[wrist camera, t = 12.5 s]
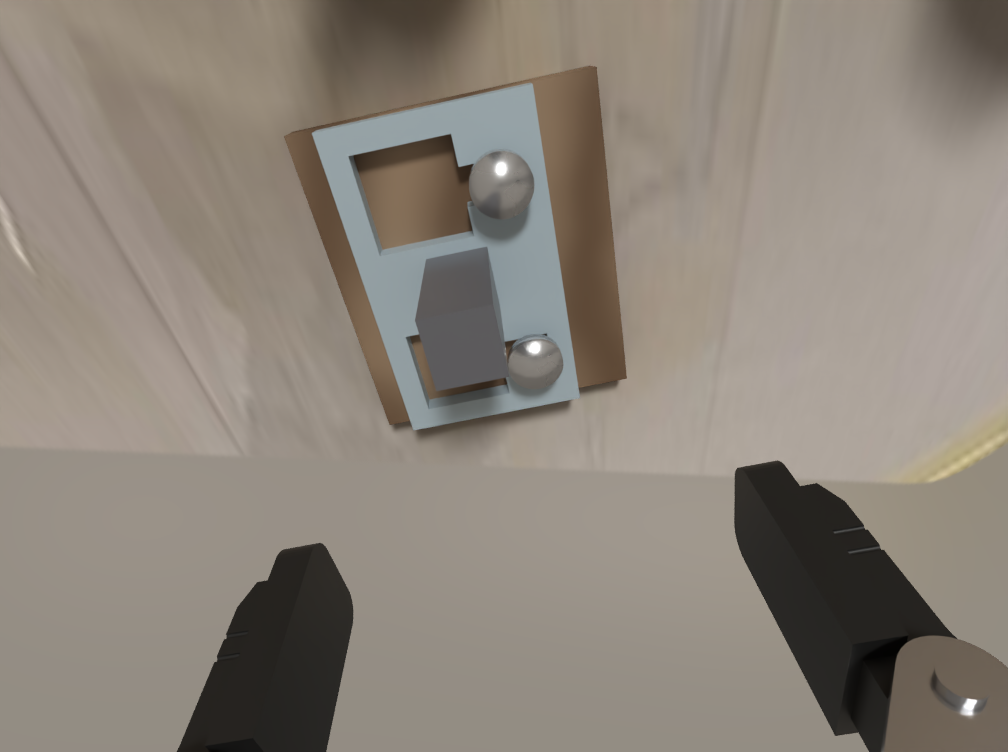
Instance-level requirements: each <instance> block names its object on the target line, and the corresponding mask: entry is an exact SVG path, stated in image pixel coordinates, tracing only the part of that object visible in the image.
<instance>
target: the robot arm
mask: <svg viewBox="0 0 1008 752" xmlns="http://www.w3.org/2000/svg"><path fill="white" fill-rule="evenodd" d="M734 520H735V521H734V523H735V533H736V538H737V542H738V545H739V549H740V551H741V554H742V556H743V558H744V560H745V562H746V564H747V566H748V568H749V570H750V572H751V574H752V576H753V578H754V580H755V581H756V583H757V586H758V587H759V589H760V591H761V593H762V595H763V597H764V599H765V601H766V603H767V605H768V607H769V609H770V611H771V612H772V614H773V616H774V618H775V620H776V622H777V624H778V626H779V628H780V630H781V632H782V634H783V636H784V638H785V640H786V641H787V643H788V645H789V647H790V649H791V651H792V653H793V655H794V657H795V659H796V661H797V663H798V665H799V667H800V668H801V670H802V672H803V674H804V676H805V678H806V680H807V682H808V684H809V686H810V688H811V690H812V692H813V693H814V696H815V697H816V699H817V701H818V703H819V705H820V707H821V709H822V711H823V713H824V715H825V717H826V719H827V721H828V723H829V724H830V726H831V728H832V730H833V732H834V734H835V736H838V735H844V734H851V733H858V732H859V734H860V736H861V738H862V739H863V741H864V743H865V745H866V747H867V748H868V750H869V752H1008V668H1007V667H1006V666H1005V665H1004V664H1003V663H1002V662H1000V661H999V660H998V659H997V658H995V657H994V656H992V655H991V654H989V653H987V652H986V651H984V650H982V649H981V648H979V647H977V646H975V645H972V644H970V643H967V642H965V641H962V640H958V639H957V638H956V637H955V636H954V635H952V633H951V632H950V631H949V630H948V629H947V628H946V627H945V626H944V625H943V623H942V622H941V621H940V619H939V618H938V617H937V616H936V615H935V613H934V612H933V611H932V610H931V608H930V607H929V606H928V605H927V603H926V602H925V601H924V600H923V598H922V597H921V596H920V595H919V593H918V592H917V591H916V590H915V588H914V587H913V586H912V585H911V583H910V582H909V581H908V580H907V579H906V577H905V576H904V575H903V573H902V572H901V571H900V570H899V568H898V567H897V566H896V565H895V563H894V562H893V561H892V560H891V558H890V557H889V556H888V555H887V554H886V552H885V551H884V550H881V549H880V545H879V543H878V542H877V541H876V540H875V538H874V537H873V536H872V535H871V533H870V532H869V531H868V530H865V528H864V525H863V523H862V522H861V521H860V520H859V518H858V517H857V516H856V515H855V513H854V512H853V511H852V510H851V508H850V507H849V506H848V505H847V503H846V502H845V501H843V500H842V499H840V498H839V497H837V496H836V495H834V494H833V493H831V492H830V491H828V490H827V489H825V488H823V487H822V486H820V485H819V484H817V483H816V484H810V485H805V486H799V484H798V483H797V481H796V480H795V479H794V477H793V476H792V475H791V473H790V472H789V470H788V469H787V468H786V466H785V465H784V464H783V463H782V462H780V461H773V462H767V463H762V464H756V465H751V466H745V467H740V468H737V469H736V472H735V518H734ZM352 624H353V604H352V599H351V595H350V592H349V590H348V588H347V587H346V584H345V582H344V581H343V579H342V577H341V575H340V573H339V571H338V569H337V567H336V565H335V563H334V561H333V559H332V558H331V556H330V554H329V552H328V550H327V548H326V547H325V546H324V545H323V544H321V543H318V544H312V545H306V546H301V547H295V548H290V549H284V550H282V551H281V552H280V553H279V554H278V556H277V558H276V560H275V563H274V565H273V568H272V570H271V574H270V576H269V578H268V580H267V581H262V582H257V583H256V585H255V586H254V587H253V588H252V590H251V591H250V592H249V594H248V595H247V596H246V597H245V599H244V600H243V601H242V602H241V603H240V605H239V606H238V607H237V609H236V612H235V614H234V617H233V619H232V622H231V624H230V626H229V629H228V631H227V633H226V635H227V639H225V640H224V641H223V643H222V646H221V648H220V650H219V653H218V655H217V658H218V660H217V662H215V663H214V665H213V667H212V670H211V672H210V674H209V677H208V679H207V681H206V684H205V686H204V689H203V691H202V693H201V696H200V698H199V701H198V703H197V706H196V708H195V710H194V713H193V715H192V718H191V720H190V723H189V725H188V727H187V729H186V732H185V735H184V737H183V739H182V742H181V744H180V746H179V748H178V750H177V752H326V750H327V745H328V740H329V735H330V730H331V725H332V721H333V716H334V711H335V706H336V702H337V696H338V692H339V687H340V682H341V678H342V672H343V668H344V663H345V658H346V653H347V649H348V643H349V639H350V634H351V629H352Z"/></svg>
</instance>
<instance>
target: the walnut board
mask: <svg viewBox="0 0 1008 752" xmlns="http://www.w3.org/2000/svg"><path fill="white" fill-rule="evenodd" d="M526 83H532V84H533V89H534V95H535V102H536V109H537V115H538V122H539V129H540V135H541V142H542V149H543V155H544V162H545V169H546V175H547V182H548V189H549V195H550V202H551V209H552V215H553V222H554V228H555V235H556V242H557V248H558V255H559V262H560V268H561V275H562V282H563V288H564V295H565V302H566V308H567V315H568V322H569V328H570V335H571V342H572V348H573V355H574V362H575V368H576V375H577V382H578V388H581V387H586V386H591V385H596V384H601V383H606V382H611V381H617V380H622V379H627V376H626V366H625V355H624V345H623V335H622V325H621V314H620V304H619V294H618V283H617V273H616V263H615V252H614V242H613V232H612V222H611V211H610V201H609V191H608V180H607V170H606V160H605V149H604V139H603V129H602V119H601V108H600V98H599V88H598V77H597V67H593V66H587V67H583V68H578V69H574V70H569V71H565V72H560V73H556V74H551V75H547V76H542V77H538V78H533V79H529V80H524V81H520V82H515V83H511V84H506V85H502V86H497V87H493V88H488V89H484V90H479V91H475V92H470V93H466V94H461V95H457V96H452V97H448V98H443V99H439V100H434V101H430V102H425V103H421V104H416V105H412V106H407V107H403V108H398V109H394V110H389V111H385V112H380V113H376V114H371V115H367V116H362V117H358V118H353V119H349V120H344V121H340V122H335V123H331V124H326V125H322V126H317V127H313V128H308V129H304V130H299V131H295V132H292V133H290V134H288V135H286V136H284V138H285V140H286V143H287V146H288V149H289V151H290V154H291V157H292V160H293V162H294V165H295V168H296V170H297V173H298V176H299V179H300V181H301V184H302V187H303V190H304V192H305V195H306V198H307V200H308V203H309V206H310V209H311V211H312V214H313V217H314V220H315V222H316V225H317V228H318V230H319V233H320V236H321V239H322V241H323V244H324V247H325V250H326V252H327V255H328V258H329V260H330V263H331V266H332V269H333V271H334V274H335V277H336V280H337V282H338V285H339V288H340V290H341V293H342V296H343V299H344V301H345V304H346V307H347V310H348V312H349V315H350V318H351V320H352V323H353V326H354V329H355V331H356V334H357V337H358V340H359V342H360V345H361V348H362V350H363V353H364V356H365V359H366V361H367V364H368V367H369V369H370V372H371V375H372V378H373V380H374V383H375V386H376V389H377V391H378V394H379V397H380V399H381V402H382V405H383V408H384V410H385V413H386V416H387V419H388V421H389V424H390V425H392V424H397V423H402V422H407V421H410V419H409V416H408V413H407V410H406V407H405V404H404V401H403V398H402V395H401V392H400V389H399V387H398V384H397V381H396V378H395V375H394V372H393V369H392V366H391V363H390V360H389V357H388V354H387V352H386V349H385V346H384V343H383V340H382V337H381V334H380V331H379V328H378V325H377V322H376V319H375V317H374V314H373V311H372V308H371V305H370V302H369V299H368V296H367V293H366V290H365V287H364V284H363V282H362V279H361V276H360V273H359V270H358V267H357V264H356V261H355V258H354V255H353V252H352V249H351V246H350V244H349V241H348V238H347V235H346V232H345V229H344V226H343V223H342V220H341V217H340V214H339V211H338V209H337V206H336V203H335V200H334V197H333V194H332V191H331V188H330V185H329V182H328V179H327V176H326V174H325V171H324V168H323V165H322V162H321V159H320V156H319V153H318V150H317V147H316V144H315V141H314V139H313V136H312V133H313V132H314V131H316V130H319V129H324V128H328V127H333V126H337V125H342V124H346V123H351V122H355V121H360V120H364V119H369V118H373V117H378V116H382V115H387V114H391V113H396V112H400V111H405V110H409V109H414V108H418V107H423V106H427V105H432V104H436V103H441V102H445V101H450V100H454V99H459V98H463V97H468V96H472V95H477V94H481V93H486V92H490V91H495V90H499V89H504V88H508V87H513V86H517V85H522V84H526ZM353 157H354V160H355V163H356V167H357V170H358V173H359V176H360V179H361V183H362V186H363V189H364V192H365V195H366V198H367V202H368V205H369V208H370V211H371V214H372V218H373V221H374V224H375V227H376V230H377V234H378V237H379V240H380V243H381V246H382V249H383V250H384V249H388V248H393V247H398V246H403V245H407V244H412V243H417V242H421V241H426V240H431V239H436V238H440V237H445V236H450V235H455V234H459V233H464V232H469V231H473V229H472V225H471V220H470V216H469V211H468V202H469V201H473V203H474V205H475V206H476V207H477V209H478V210H479V211H480V212H482V213H483V214H484V215H486V216H488V217H490V218H494V219H509V218H512V217H515V216H517V215H518V214H520V213H521V212H523V211H524V210H525V209H526V207H527V206H528V205H529V203H530V201H531V199H532V197H533V193H534V177H533V174H532V171H531V169H530V167H529V165H528V164H527V162H526V161H525V160H524V159H523V157H521V156H520V155H519V154H517V153H516V152H514V151H511V150H508V149H494V150H491V151H488V152H486V153H485V154H483V155H482V156H480V157H479V158H478V159H477V160H476V162H475V163H474V164H470V165H466V166H461V167H458V162H457V158H456V154H455V149H454V145H453V140H452V136H451V134H448V135H443V136H439V137H434V138H429V139H425V140H420V141H416V142H411V143H407V144H402V145H398V146H393V147H388V148H384V149H379V150H375V151H370V152H366V153H361V154H357V155H353ZM410 339H411V342H412V345H413V348H414V351H415V355H416V358H417V361H418V364H419V367H420V371H421V374H422V377H423V380H424V383H425V386H426V390H427V393H428V396H429V399H435V398H440V397H445V396H450V395H455V394H461V393H466V392H471V391H476V390H481V389H486V388H491V387H496V386H501V385H506V384H507V380H506V378H501V379H496V380H491V381H486V382H481V383H476V384H470V385H465V386H460V387H455V388H450V389H445V390H440V391H436V388H435V385H434V382H433V378H432V375H431V372H430V369H429V365H428V362H427V359H426V355H425V352H424V349H423V345H422V342H421V339H420V336H419V334H418V335H413V336H410ZM505 348H506V355H507V362H508V368H509V373H510V376H511V377H512V379H513V380H514V381H515V382H516V383H517V384H518V385H520V386H522V387H524V388H527V389H541V388H545V387H547V386H549V385H551V384H553V383H554V382H555V381H556V380H557V379H558V378H559V376H560V375H561V373H562V370H563V358H562V354H561V351H560V348H559V346H558V345H557V343H556V342H555V341H554V340H553V339H551V338H550V337H548V336H546V334H531V335H526V336H524V337H522V338H520V339H516V340H511V341H506V342H505Z"/></svg>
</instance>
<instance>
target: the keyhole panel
mask: <svg viewBox="0 0 1008 752" xmlns="http://www.w3.org/2000/svg"><path fill="white" fill-rule="evenodd" d="M448 134H451V136H452V140H453V145H454V149H455V154H456V158H457V162H458V167H461V166H466V165H470V164H474V163H475V162H476V160H477V159H478V158H479V157H480V156H482V155H483V154H485V153H486V152H488V151H491V150H494V149H508V150H511V151H514V152H516V153H517V154H519V155H520V156H521V157H523V159H524V160H525V161H526V162H527V164H528V165H529V167H530V169H531V171H532V174H533V177H534V193H533V197H532V199H531V201H530V203H529V205H528V206H527V207H526V209H525V210H524V211H523V212H521V213H520V214H518V215H517V216H515V217H512V218H509V219H494V218H490V217H488V216H486V215H484V214H483V213H482V212H480V211H479V210H478V209H477V207H476V206H475V205H474V203H473V201H469V202H468V211H469V216H470V220H471V225H472V229H473V231H469V232H464V233H459V234H455V235H450V236H445V237H440V238H436V239H431V240H426V241H421V242H417V243H412V244H407V245H403V246H398V247H393V248H388V249H384V250H383V249H382V246H381V243H380V240H379V237H378V234H377V230H376V227H375V224H374V221H373V218H372V214H371V211H370V208H369V205H368V202H367V198H366V195H365V192H364V189H363V186H362V183H361V179H360V176H359V173H358V170H357V167H356V163H355V160H354V157H353V155H357V154H361V153H366V152H370V151H375V150H379V149H384V148H388V147H393V146H398V145H402V144H407V143H411V142H416V141H420V140H425V139H429V138H434V137H439V136H443V135H448ZM312 136H313V139H314V141H315V144H316V147H317V150H318V153H319V156H320V159H321V162H322V165H323V168H324V171H325V174H326V176H327V179H328V182H329V185H330V188H331V191H332V194H333V197H334V200H335V203H336V206H337V209H338V211H339V214H340V217H341V220H342V223H343V226H344V229H345V232H346V235H347V238H348V241H349V244H350V246H351V249H352V252H353V255H354V258H355V261H356V264H357V267H358V270H359V273H360V276H361V279H362V282H363V284H364V287H365V290H366V293H367V296H368V299H369V302H370V305H371V308H372V311H373V314H374V317H375V319H376V322H377V325H378V328H379V331H380V334H381V337H382V340H383V343H384V346H385V349H386V352H387V354H388V357H389V360H390V363H391V366H392V369H393V372H394V375H395V378H396V381H397V384H398V387H399V389H400V392H401V395H402V398H403V401H404V404H405V407H406V410H407V413H408V416H409V419H410V422H411V424H412V427H413V430H418V429H424V428H429V427H434V426H439V425H444V424H449V423H454V422H459V421H465V420H470V419H475V418H480V417H485V416H490V415H495V414H501V413H506V412H511V411H516V410H521V409H526V408H531V407H536V406H542V405H547V404H552V403H557V402H562V401H567V400H572V399H578V398H580V395H579V388H578V382H577V375H576V368H575V362H574V355H573V348H572V342H571V335H570V328H569V322H568V315H567V308H566V302H565V295H564V288H563V282H562V275H561V268H560V262H559V255H558V248H557V242H556V235H555V228H554V222H553V215H552V209H551V202H550V195H549V189H548V182H547V175H546V169H545V162H544V155H543V149H542V142H541V135H540V129H539V122H538V115H537V109H536V102H535V95H534V89H533V84H532V83H526V84H522V85H517V86H513V87H508V88H504V89H499V90H495V91H490V92H486V93H481V94H477V95H472V96H468V97H463V98H459V99H454V100H450V101H445V102H441V103H436V104H432V105H427V106H423V107H418V108H414V109H409V110H405V111H400V112H396V113H391V114H387V115H382V116H378V117H373V118H369V119H364V120H360V121H355V122H351V123H346V124H342V125H337V126H333V127H328V128H324V129H319V130H316V131H314V132H313V133H312ZM418 334H419V336H420V339H421V342H422V345H423V349H424V352H425V355H426V359H427V362H428V365H429V369H430V372H431V375H432V378H433V382H434V385H435V388H436V391H440V390H445V389H450V388H455V387H460V386H465V385H470V384H476V383H481V382H486V381H491V380H496V379H501V378H506V380H507V384H506V385H501V386H496V387H491V388H486V389H481V390H476V391H471V392H466V393H461V394H455V395H450V396H445V397H440V398H435V399H429V396H428V393H427V390H426V386H425V383H424V380H423V377H422V374H421V371H420V367H419V364H418V361H417V358H416V355H415V351H414V348H413V345H412V342H411V339H410V336H413V335H418ZM531 334H546V336H548V337H550V338H551V339H553V340H554V341H555V342H556V343H557V345H558V346H559V348H560V351H561V354H562V358H563V370H562V373H561V375H560V376H559V378H558V379H557V380H556V381H555V382H554V383H553V384H551V385H549V386H547V387H545V388H541V389H527V388H524V387H522V386H520V385H518V384H517V383H516V382H515V381H514V380H513V379H512V377H511V376H510V373H509V368H508V362H507V355H506V348H505V342H506V341H511V340H516V339H520V338H522V337H524V336H526V335H531Z"/></svg>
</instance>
